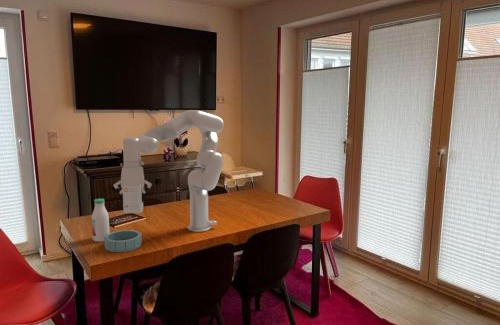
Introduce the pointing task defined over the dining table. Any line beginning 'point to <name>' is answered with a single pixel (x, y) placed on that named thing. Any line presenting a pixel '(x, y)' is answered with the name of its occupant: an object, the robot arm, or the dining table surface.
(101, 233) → the milk bottle
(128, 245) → the bowl
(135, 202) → the small box
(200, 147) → the robot arm
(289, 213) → the dining table surface
